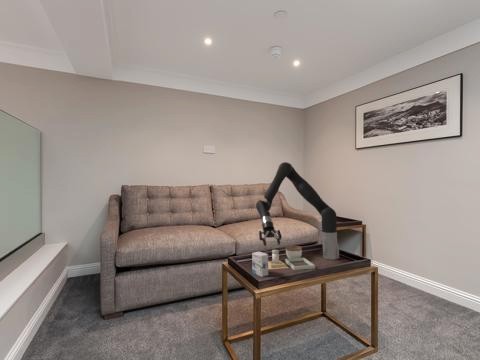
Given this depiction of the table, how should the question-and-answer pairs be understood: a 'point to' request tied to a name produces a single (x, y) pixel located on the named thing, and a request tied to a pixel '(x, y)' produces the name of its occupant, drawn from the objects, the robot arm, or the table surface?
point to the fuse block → (276, 265)
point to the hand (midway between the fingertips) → (272, 245)
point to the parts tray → (309, 266)
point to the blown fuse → (275, 256)
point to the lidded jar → (293, 251)
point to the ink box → (260, 263)
